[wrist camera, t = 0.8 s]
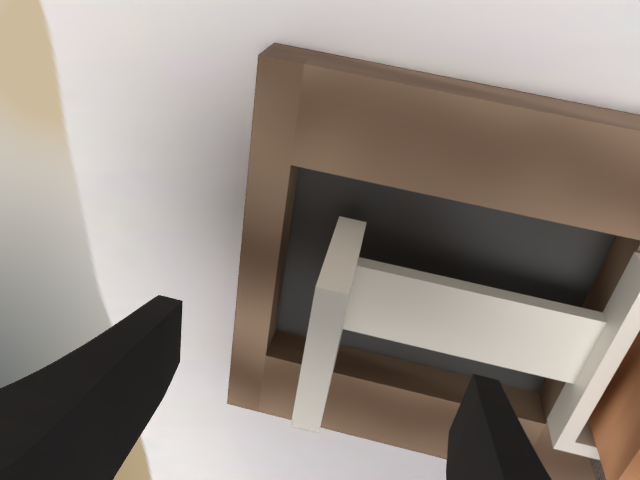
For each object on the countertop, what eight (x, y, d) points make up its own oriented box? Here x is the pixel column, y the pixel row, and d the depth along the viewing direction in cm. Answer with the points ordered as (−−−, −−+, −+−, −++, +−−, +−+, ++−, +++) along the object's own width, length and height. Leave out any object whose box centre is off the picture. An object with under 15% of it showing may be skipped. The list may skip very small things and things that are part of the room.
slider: (807, 482, 22) (883, 600, 18) (311, 361, 24) (286, 447, 20) (960, 322, 18) (1101, 432, 14) (344, 188, 20) (321, 255, 16)
